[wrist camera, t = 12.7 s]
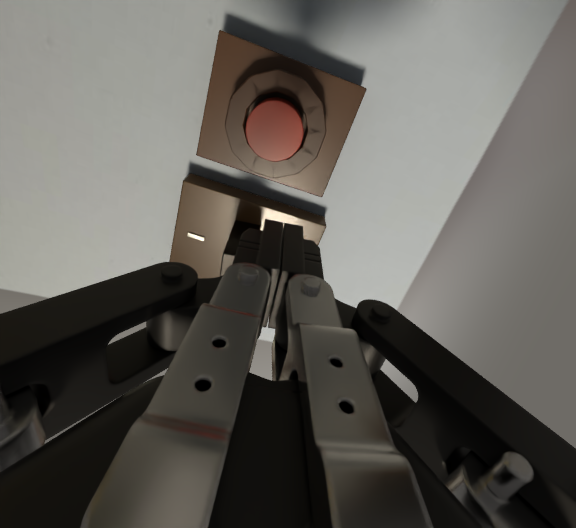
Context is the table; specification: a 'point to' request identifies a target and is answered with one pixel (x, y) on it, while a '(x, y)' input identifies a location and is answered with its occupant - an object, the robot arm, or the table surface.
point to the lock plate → (226, 221)
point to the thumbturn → (234, 243)
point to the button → (274, 129)
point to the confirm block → (283, 84)
